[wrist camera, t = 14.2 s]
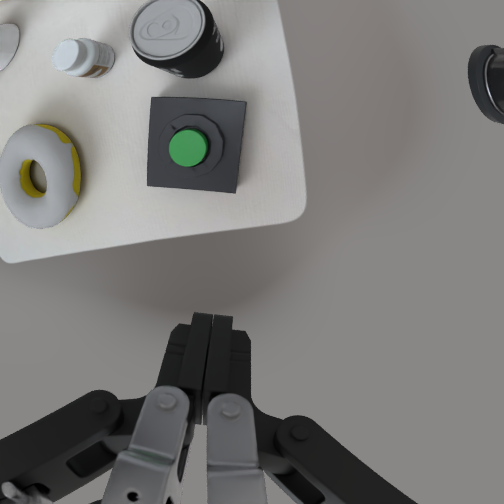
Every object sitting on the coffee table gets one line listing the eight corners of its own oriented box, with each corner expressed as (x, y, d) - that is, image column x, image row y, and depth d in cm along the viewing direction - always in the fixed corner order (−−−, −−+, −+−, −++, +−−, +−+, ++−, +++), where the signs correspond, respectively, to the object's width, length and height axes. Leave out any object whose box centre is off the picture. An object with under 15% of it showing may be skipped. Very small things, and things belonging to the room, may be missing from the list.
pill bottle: (83, 80, 27) (46, 79, 20) (85, 48, 24) (50, 40, 18) (114, 75, 27) (81, 70, 20) (116, 41, 25) (85, 29, 18)
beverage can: (229, 72, 27) (217, 52, 17) (170, 85, 28) (129, 76, 17) (219, 20, 24) (204, -21, 14) (161, 34, 25) (119, 4, 14)
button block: (157, 97, 28) (145, 96, 25) (246, 102, 29) (246, 101, 26) (152, 181, 33) (141, 190, 29) (236, 188, 34) (234, 198, 30)
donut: (7, 137, 29) (-15, 144, 24) (76, 107, 28) (54, 109, 24) (29, 225, 35) (10, 239, 31) (98, 211, 34) (80, 226, 30)
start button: (174, 127, 27) (169, 129, 25) (209, 129, 27) (207, 131, 26) (172, 162, 29) (167, 165, 27) (206, 164, 29) (204, 168, 27)
